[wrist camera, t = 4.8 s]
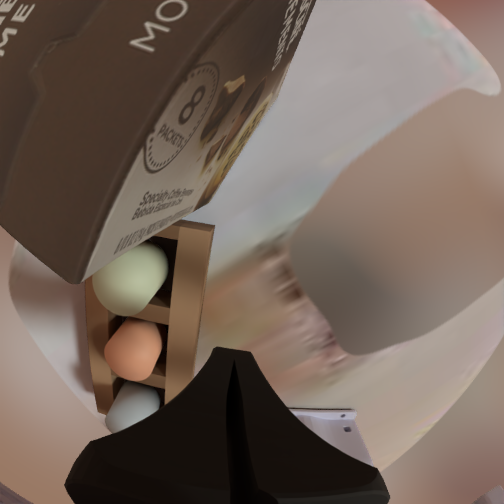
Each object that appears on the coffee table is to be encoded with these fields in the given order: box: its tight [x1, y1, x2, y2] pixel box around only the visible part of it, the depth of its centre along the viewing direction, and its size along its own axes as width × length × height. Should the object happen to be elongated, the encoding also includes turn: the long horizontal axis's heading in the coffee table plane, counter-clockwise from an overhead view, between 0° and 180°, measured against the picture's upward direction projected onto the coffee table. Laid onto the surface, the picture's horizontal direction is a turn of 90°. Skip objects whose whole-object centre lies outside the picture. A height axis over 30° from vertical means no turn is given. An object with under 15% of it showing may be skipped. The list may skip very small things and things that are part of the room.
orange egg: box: [104, 316, 167, 381], centre depth 18 cm, size 3×3×4 cm
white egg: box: [105, 380, 161, 433], centre depth 18 cm, size 3×3×4 cm
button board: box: [85, 219, 215, 415], centre depth 19 cm, size 17×8×3 cm, turn 169°
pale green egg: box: [92, 240, 169, 316], centre depth 16 cm, size 3×3×4 cm
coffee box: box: [0, 0, 316, 284], centre depth 10 cm, size 9×6×16 cm
